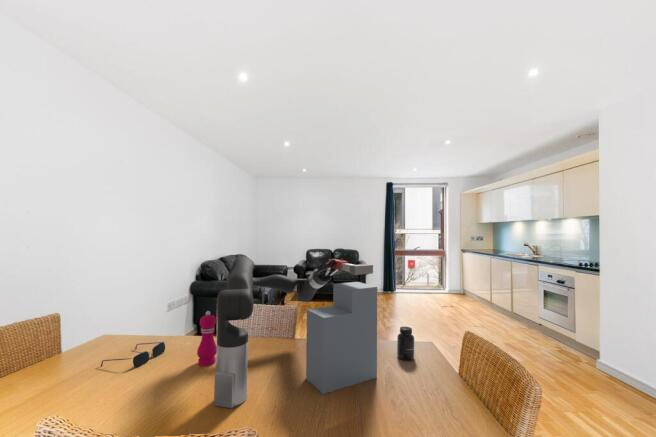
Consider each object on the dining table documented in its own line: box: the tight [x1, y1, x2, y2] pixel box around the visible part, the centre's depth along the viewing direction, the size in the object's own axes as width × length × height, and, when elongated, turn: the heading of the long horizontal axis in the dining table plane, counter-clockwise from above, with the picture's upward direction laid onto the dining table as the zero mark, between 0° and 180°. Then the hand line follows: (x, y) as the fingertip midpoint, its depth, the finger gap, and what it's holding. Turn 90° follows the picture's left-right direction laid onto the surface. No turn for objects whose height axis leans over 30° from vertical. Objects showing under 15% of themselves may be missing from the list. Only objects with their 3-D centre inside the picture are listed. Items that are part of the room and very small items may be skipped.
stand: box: [305, 281, 378, 395], centre depth 108 cm, size 12×22×32 cm, turn 121°
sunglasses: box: [100, 341, 166, 369], centre depth 122 cm, size 17×15×5 cm
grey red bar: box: [328, 258, 374, 276], centre depth 117 cm, size 22×8×3 cm, turn 31°
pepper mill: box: [196, 310, 217, 367], centre depth 119 cm, size 7×7×20 cm
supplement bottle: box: [396, 326, 415, 361], centre depth 126 cm, size 7×7×12 cm
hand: (338, 260), depth 122 cm, fingers closed on grey red bar, 3 cm apart
